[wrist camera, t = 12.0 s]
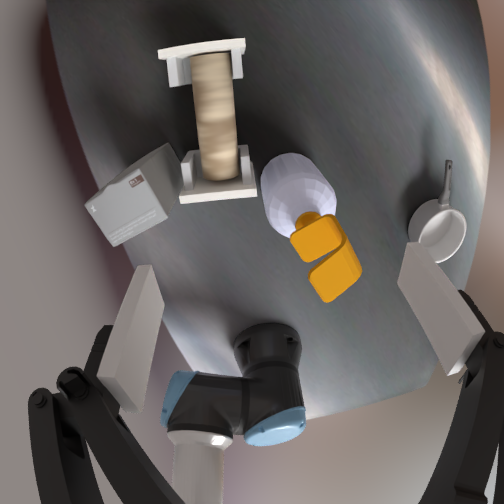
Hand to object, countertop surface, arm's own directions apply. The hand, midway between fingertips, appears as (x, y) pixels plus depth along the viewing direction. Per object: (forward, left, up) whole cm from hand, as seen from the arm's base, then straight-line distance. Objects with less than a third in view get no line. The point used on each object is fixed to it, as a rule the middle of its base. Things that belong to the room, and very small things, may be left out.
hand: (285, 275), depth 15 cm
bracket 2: (-2, +5, -32) cm, 32 cm away
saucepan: (-12, -32, -32) cm, 47 cm away
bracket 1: (+11, +5, -32) cm, 34 cm away
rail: (+5, +6, -26) cm, 27 cm away
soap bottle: (-7, -5, -32) cm, 33 cm away
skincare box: (-3, +15, -32) cm, 35 cm away
